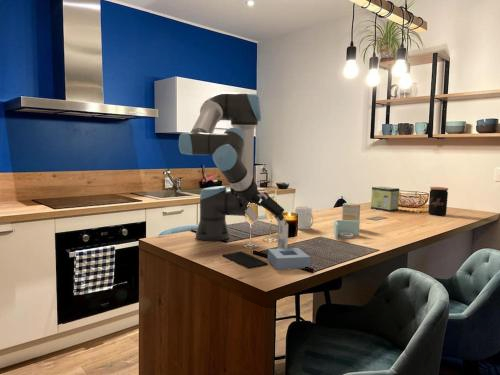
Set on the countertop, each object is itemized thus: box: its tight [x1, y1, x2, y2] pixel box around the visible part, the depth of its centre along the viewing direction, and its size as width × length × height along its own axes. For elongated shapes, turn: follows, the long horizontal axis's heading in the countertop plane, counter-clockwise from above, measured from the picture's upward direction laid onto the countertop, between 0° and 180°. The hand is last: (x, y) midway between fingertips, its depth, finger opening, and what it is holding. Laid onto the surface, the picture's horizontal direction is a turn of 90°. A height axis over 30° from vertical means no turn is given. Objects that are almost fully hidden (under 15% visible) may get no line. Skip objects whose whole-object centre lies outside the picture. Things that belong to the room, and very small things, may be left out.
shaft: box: [276, 221, 289, 249], centre depth 152 cm, size 4×4×13 cm
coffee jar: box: [428, 186, 449, 217], centre depth 251 cm, size 11×11×18 cm
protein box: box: [370, 186, 400, 213], centre depth 267 cm, size 10×16×16 cm
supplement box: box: [341, 202, 361, 222], centre depth 203 cm, size 8×5×13 cm, turn 57°
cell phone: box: [221, 251, 269, 270], centre depth 142 cm, size 9×18×1 cm, turn 35°
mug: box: [294, 206, 314, 230], centre depth 199 cm, size 9×12×11 cm
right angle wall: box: [333, 219, 361, 240], centre depth 183 cm, size 12×12×8 cm
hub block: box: [267, 247, 311, 270], centre depth 139 cm, size 12×12×4 cm
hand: (268, 221), depth 143 cm, fingers open, 13 cm apart
